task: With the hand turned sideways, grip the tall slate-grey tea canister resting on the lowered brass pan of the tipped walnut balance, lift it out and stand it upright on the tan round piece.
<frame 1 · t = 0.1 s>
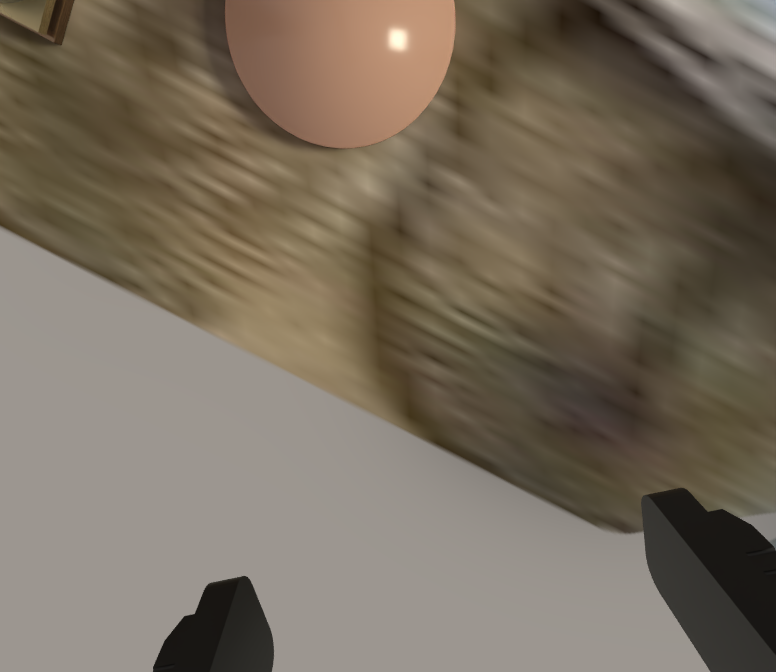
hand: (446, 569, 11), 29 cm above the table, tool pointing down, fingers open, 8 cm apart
tan round piece: (342, 30, 33), on the table
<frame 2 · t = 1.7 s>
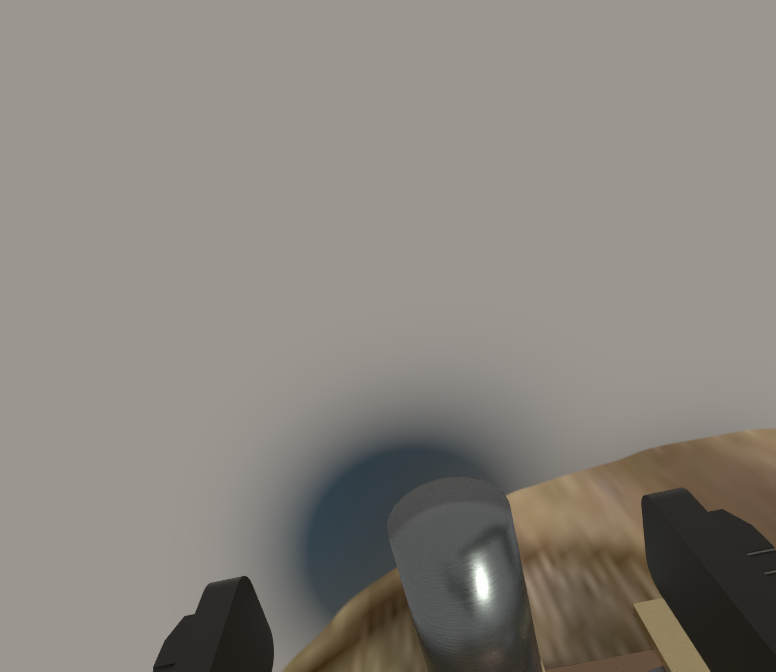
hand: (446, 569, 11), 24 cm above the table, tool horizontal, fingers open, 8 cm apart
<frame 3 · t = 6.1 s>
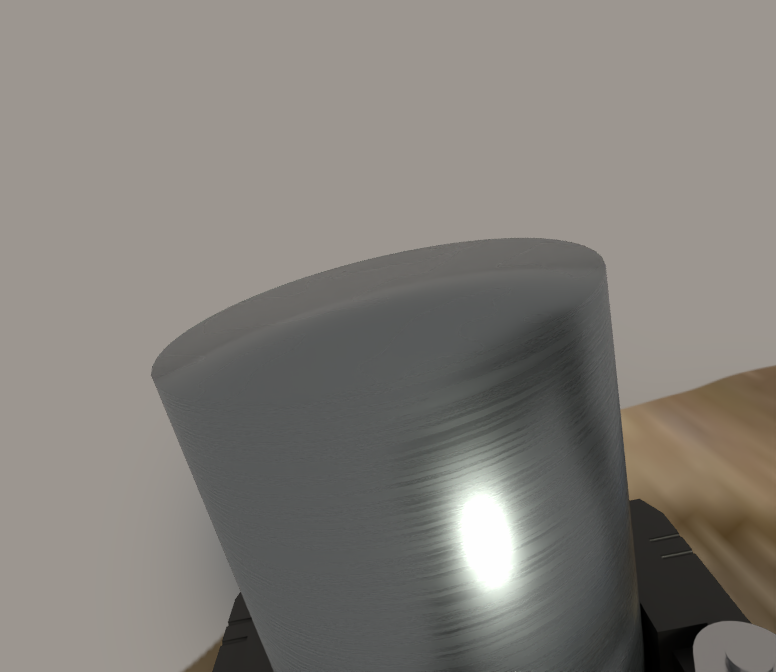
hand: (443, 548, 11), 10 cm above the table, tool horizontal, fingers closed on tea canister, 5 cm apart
when the fingers open (10 cm above the table, at t = 13.1 s): tea canister drops 1 cm, resting on tan round piece.
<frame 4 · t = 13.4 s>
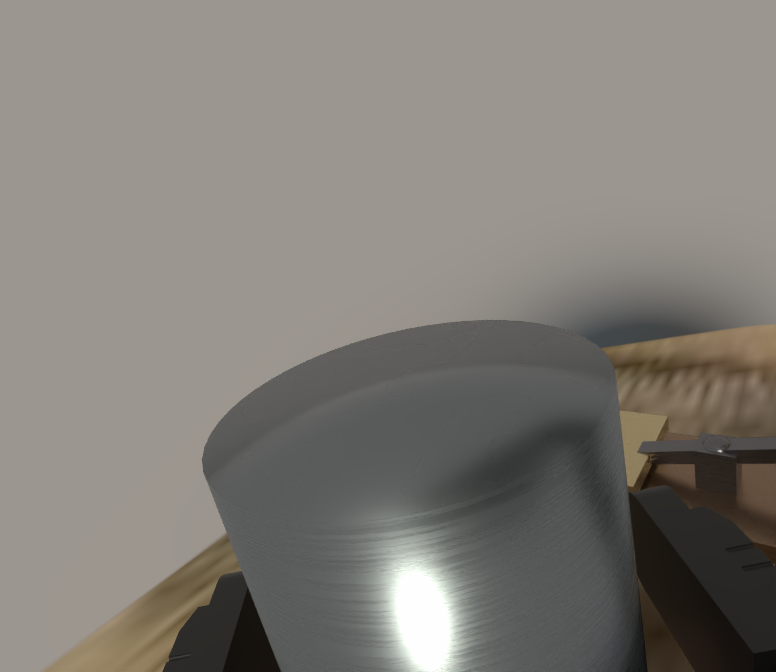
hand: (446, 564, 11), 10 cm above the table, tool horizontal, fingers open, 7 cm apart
balance: (719, 495, 25), on the table
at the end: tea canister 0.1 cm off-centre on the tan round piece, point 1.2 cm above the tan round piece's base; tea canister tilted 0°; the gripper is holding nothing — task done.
